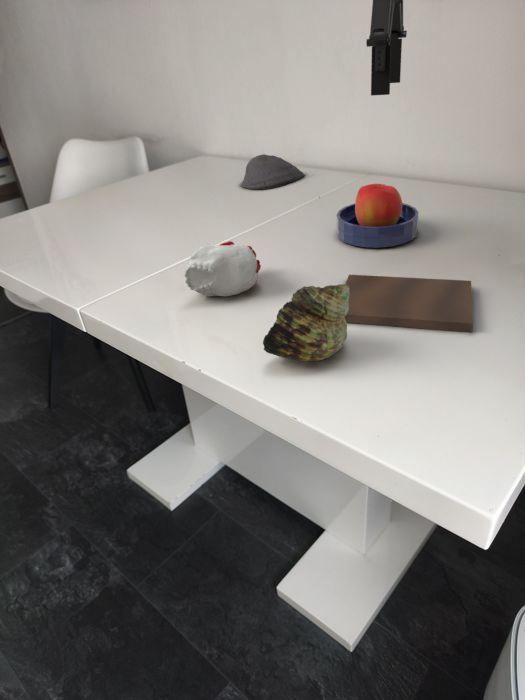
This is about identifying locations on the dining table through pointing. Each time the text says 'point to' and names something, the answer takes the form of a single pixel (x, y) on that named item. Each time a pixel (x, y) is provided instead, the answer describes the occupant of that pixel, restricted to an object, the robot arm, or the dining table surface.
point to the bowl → (377, 229)
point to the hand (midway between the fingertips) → (386, 88)
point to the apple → (378, 205)
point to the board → (410, 302)
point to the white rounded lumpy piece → (222, 269)
